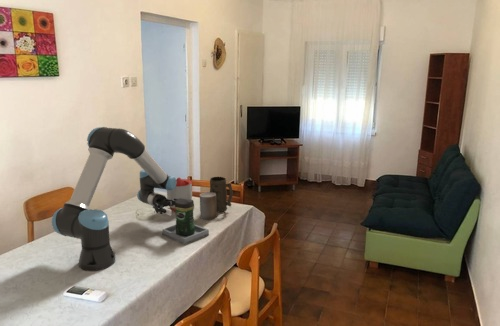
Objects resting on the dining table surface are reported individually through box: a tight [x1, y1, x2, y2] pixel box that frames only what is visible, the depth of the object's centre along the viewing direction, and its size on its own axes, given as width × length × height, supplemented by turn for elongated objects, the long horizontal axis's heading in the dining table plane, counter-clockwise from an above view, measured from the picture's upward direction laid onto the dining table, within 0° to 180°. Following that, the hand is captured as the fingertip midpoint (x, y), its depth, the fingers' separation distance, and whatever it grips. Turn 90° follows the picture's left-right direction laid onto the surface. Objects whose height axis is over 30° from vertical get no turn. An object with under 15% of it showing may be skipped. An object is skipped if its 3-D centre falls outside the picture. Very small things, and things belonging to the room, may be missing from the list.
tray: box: [161, 223, 210, 246], centre depth 207 cm, size 16×18×3 cm
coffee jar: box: [175, 198, 196, 236], centre depth 205 cm, size 10×8×19 cm
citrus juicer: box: [166, 177, 193, 212], centre depth 245 cm, size 16×17×20 cm
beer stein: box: [209, 176, 234, 213], centre depth 244 cm, size 15×11×20 cm
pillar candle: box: [199, 191, 218, 221], centre depth 232 cm, size 10×10×15 cm
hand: (181, 209), depth 207 cm, fingers open, 13 cm apart
